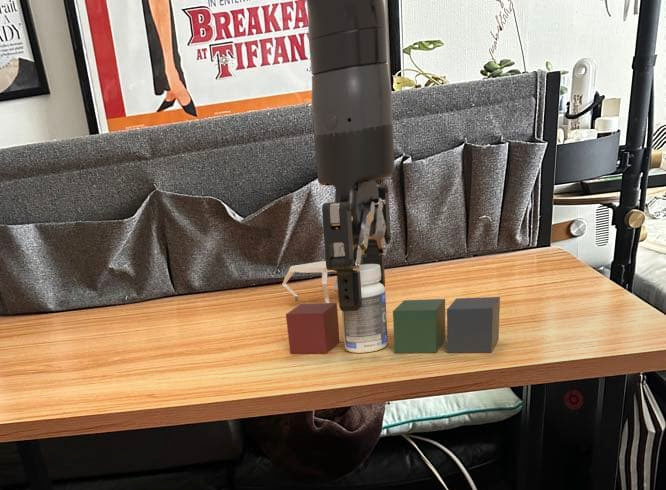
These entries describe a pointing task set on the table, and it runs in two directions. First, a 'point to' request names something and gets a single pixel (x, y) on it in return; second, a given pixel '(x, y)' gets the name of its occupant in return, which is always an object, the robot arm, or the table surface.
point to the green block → (419, 326)
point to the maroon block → (313, 328)
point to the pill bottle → (367, 315)
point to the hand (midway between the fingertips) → (363, 300)
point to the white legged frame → (311, 269)
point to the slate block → (473, 325)
